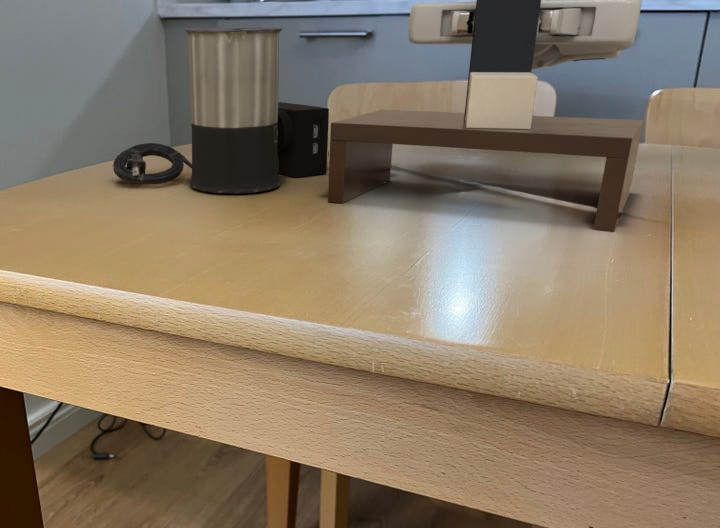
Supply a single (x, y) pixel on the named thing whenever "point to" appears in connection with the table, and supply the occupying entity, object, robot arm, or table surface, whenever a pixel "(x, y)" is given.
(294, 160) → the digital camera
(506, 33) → the tall dark upright panel
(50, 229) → the table surface
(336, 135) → the monitor stand
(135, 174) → the milk frother
